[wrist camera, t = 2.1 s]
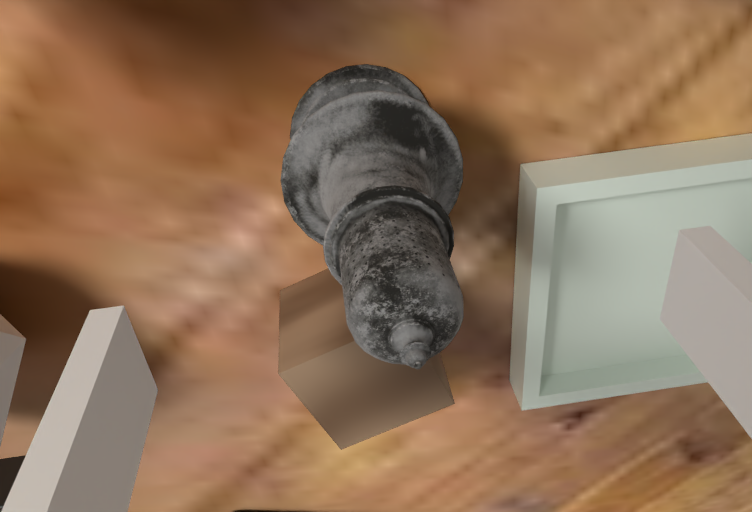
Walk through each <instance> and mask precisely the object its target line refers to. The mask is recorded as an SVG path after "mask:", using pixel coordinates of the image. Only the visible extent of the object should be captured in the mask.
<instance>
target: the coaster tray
mask: <svg viewBox="0 0 752 512" xmlns="http://www.w3.org/2000/svg"><path fill="white" fill-rule="evenodd" d="M704 226H711V227H712V228H713V229H714V230H716V231H717V232H718V233H719V234H720V235H721V236H722V237H723V238H724V239H725V240H726V241H727V242H729V243H730V244H731V245H732V246H733V247H734V248H735V249H736V250H737V251H738V252H739V253H741V254H742V255H743V256H744V257H745V258H746V259H747V260H748V261H749V262H750V263H751V264H752V133H750V134H742V135H735V136H727V137H720V138H712V139H705V140H697V141H690V142H682V143H675V144H667V145H660V146H652V147H645V148H637V149H630V150H622V151H615V152H607V153H600V154H592V155H585V156H577V157H570V158H562V159H555V160H547V161H540V162H533V163H525V164H520V179H519V199H518V219H517V238H516V258H515V278H514V298H513V317H512V337H511V357H510V377H509V380H510V383H511V385H512V388H513V390H514V393H515V395H516V398H517V400H518V403H519V405H520V408H521V410H529V409H535V408H542V407H548V406H555V405H562V404H568V403H575V402H581V401H588V400H595V399H601V398H608V397H614V396H621V395H627V394H634V393H641V392H647V391H654V390H660V389H667V388H674V387H680V386H687V385H693V384H700V383H707V382H708V381H707V380H706V379H705V377H704V376H703V375H702V373H701V372H700V371H699V369H698V368H697V367H696V366H695V364H694V363H693V362H692V360H691V359H690V358H689V356H688V355H687V354H686V353H685V351H684V350H683V349H682V347H681V346H680V345H679V343H678V342H677V341H676V339H675V338H674V337H673V336H672V334H671V333H670V332H669V330H668V329H667V328H666V326H665V325H664V324H663V323H662V321H661V320H660V315H661V311H662V306H663V302H664V297H665V292H666V288H667V283H668V279H669V274H670V269H671V265H672V260H673V256H674V251H675V246H676V242H677V237H678V233H679V230H682V229H690V228H697V227H704Z"/></svg>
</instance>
